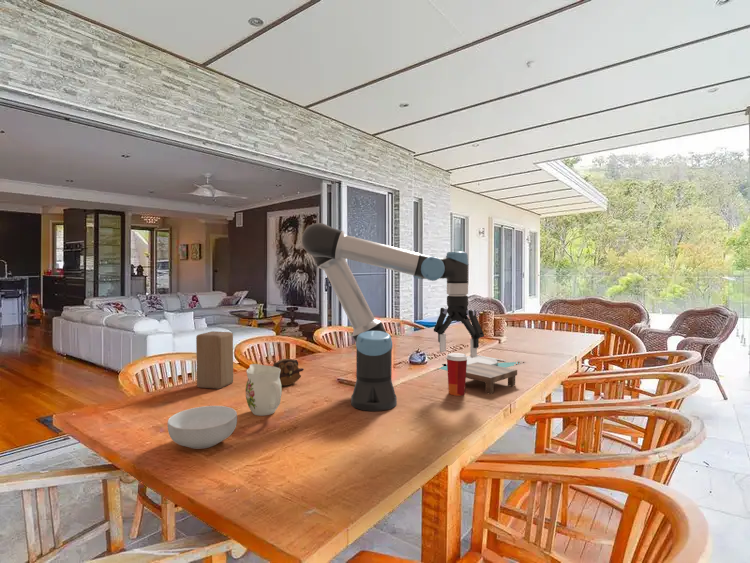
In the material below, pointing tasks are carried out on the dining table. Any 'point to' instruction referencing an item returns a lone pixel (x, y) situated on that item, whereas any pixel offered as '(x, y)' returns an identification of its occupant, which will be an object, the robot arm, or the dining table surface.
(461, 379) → the paper cup
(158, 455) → the dining table surface
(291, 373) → the wooden carving
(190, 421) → the cereal bowl
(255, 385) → the pitcher
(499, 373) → the walnut stand
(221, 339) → the block
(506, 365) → the place mat
